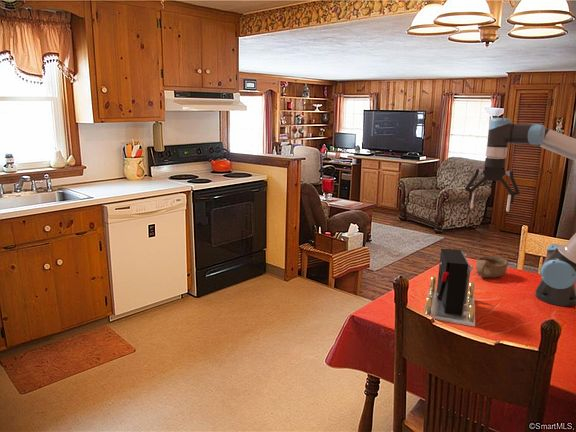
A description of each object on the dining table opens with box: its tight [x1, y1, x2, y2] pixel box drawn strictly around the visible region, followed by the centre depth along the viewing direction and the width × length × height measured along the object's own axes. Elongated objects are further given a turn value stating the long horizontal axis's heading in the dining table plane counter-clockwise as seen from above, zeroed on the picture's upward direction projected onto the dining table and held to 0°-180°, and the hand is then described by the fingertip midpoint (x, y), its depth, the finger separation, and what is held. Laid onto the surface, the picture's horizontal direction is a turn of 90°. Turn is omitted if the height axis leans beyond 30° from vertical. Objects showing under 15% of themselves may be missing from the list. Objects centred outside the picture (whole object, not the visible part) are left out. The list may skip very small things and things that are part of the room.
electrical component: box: [436, 247, 474, 315], centre depth 174 cm, size 18×10×20 cm, turn 168°
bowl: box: [475, 255, 509, 278], centre depth 211 cm, size 18×14×10 cm
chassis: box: [423, 276, 476, 327], centre depth 176 cm, size 18×26×8 cm
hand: (489, 209), depth 184 cm, fingers open, 13 cm apart
